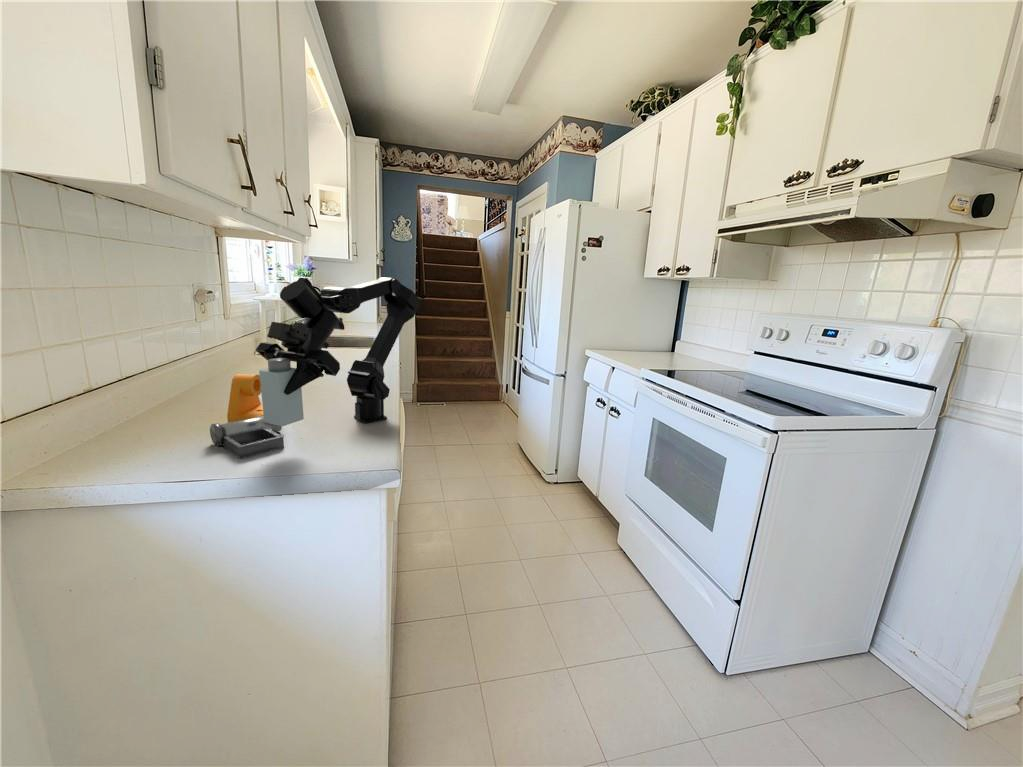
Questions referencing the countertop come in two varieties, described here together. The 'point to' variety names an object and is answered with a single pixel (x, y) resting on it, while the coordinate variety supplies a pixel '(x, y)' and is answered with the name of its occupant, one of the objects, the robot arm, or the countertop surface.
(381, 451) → the countertop surface
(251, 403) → the bracket
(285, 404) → the grey capped bottle
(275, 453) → the countertop surface
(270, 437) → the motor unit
